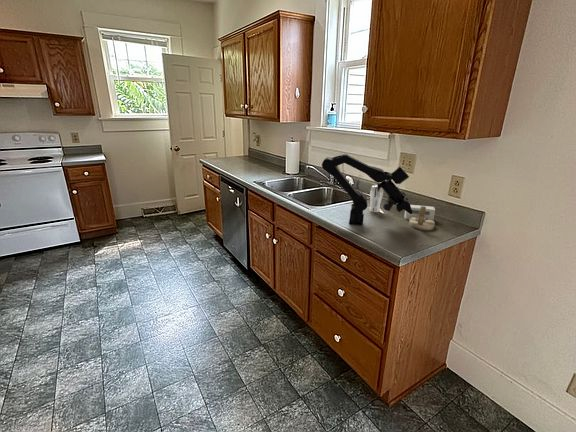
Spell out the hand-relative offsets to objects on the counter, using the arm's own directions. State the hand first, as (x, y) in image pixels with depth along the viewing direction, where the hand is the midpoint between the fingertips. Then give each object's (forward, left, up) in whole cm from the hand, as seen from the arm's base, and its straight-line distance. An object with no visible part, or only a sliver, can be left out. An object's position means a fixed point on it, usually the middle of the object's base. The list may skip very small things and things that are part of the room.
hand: (411, 213), depth 155 cm
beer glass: (-17, +22, -8) cm, 29 cm away
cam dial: (+6, +5, -7) cm, 11 cm away
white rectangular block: (+6, +15, -8) cm, 18 cm away
